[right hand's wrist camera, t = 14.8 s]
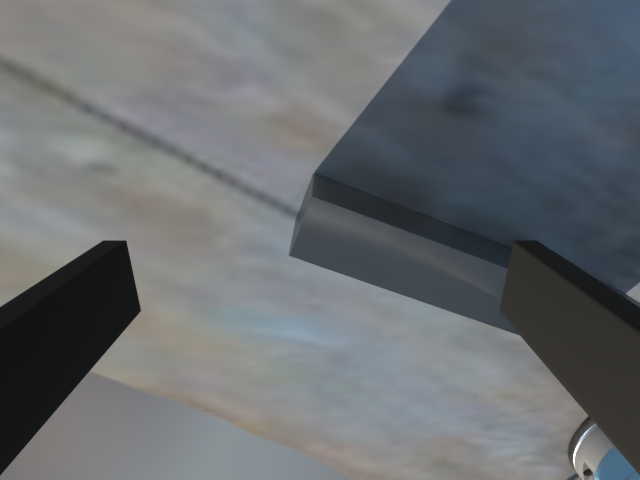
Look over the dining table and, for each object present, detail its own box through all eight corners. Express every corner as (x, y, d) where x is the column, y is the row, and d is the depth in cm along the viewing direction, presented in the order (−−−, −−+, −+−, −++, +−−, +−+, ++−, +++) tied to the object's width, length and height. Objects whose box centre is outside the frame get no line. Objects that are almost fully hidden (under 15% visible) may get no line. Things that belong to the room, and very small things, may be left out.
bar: (295, 220, 37) (288, 256, 28) (313, 172, 35) (311, 195, 26) (586, 324, 41) (655, 382, 33) (615, 287, 39) (695, 337, 31)
